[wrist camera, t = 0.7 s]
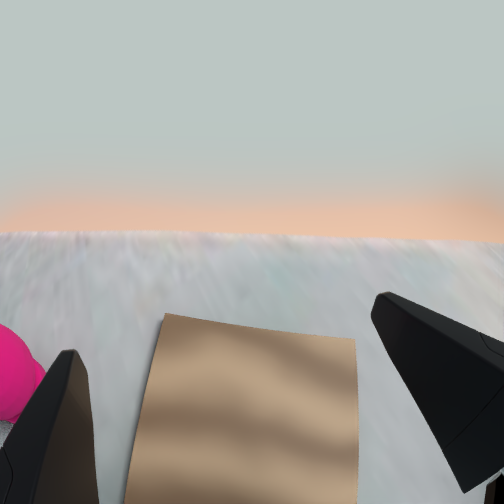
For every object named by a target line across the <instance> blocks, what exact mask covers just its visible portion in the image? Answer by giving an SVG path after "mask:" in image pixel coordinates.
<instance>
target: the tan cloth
mask: <svg viewBox="0 0 504 504" xmlns="http://www.w3.org/2000/svg"><path fill="white" fill-rule="evenodd" d="M358 458H359V415H358V382H357V363H356V347H355V339H347V338H336V337H326V336H317V335H307V334H299V333H290V332H282V331H275V330H267V329H260V328H253V327H246V326H239V325H233V324H226V323H220V322H214V321H208V320H202V319H196V318H191V317H185V316H180V315H174V314H169V313H165V315H164V319H163V323H162V326H161V330H160V334H159V338H158V341H157V345H156V349H155V353H154V357H153V361H152V365H151V369H150V373H149V378H148V382H147V386H146V390H145V395H144V399H143V404H142V408H141V413H140V418H139V422H138V427H137V432H136V437H135V442H134V447H133V452H132V458H131V463H130V469H129V474H128V480H127V486H126V492H125V499H124V504H357V488H358Z"/></svg>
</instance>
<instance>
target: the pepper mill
mask: <svg viewBox="0 0 504 504" xmlns="http://www.w3.org/2000/svg"><path fill="white" fill-rule="evenodd" d="M45 374H46V372H45V370H44V369H43V367H42V366H41V365H40V364H39V363H38V362H37V361H36V360H35V359H33V358H32V355H31V353H30V351H29V349H28V347H27V346H26V344H25V343H24V341H23V340H22V339H21V338H20V337H19V336H18V335H16V334H15V333H14V332H13V331H12V330H10V329H9V328H7V327H5V326H3V325H1V324H0V420H6V421H8V422H11V423H13V424H15V422H16V421H17V419H18V417H19V416H20V414H21V412H22V411H23V409H24V407H25V406H26V404H27V402H28V401H29V399H30V398H31V396H32V394H33V393H34V391H35V390H36V388H37V387H38V385H39V384H40V382H41V380H42V379H43V377H44V376H45Z"/></svg>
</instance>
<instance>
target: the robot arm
mask: <svg viewBox="0 0 504 504" xmlns="http://www.w3.org/2000/svg"><path fill="white" fill-rule="evenodd" d="M371 319H372V322H373V324H374V326H375V328H376V330H377V332H378V334H379V336H380V338H381V340H382V343H383V345H384V347H385V349H386V351H387V353H388V355H389V357H390V359H391V360H392V362H393V364H394V366H395V367H396V369H397V371H398V372H399V374H400V376H401V377H402V379H403V381H404V383H405V384H406V386H407V388H408V390H409V391H410V393H411V395H412V397H413V398H414V400H415V402H416V404H417V405H418V407H419V409H420V411H421V413H422V414H423V416H424V418H425V420H426V422H427V424H428V425H429V427H430V429H431V431H432V433H433V435H434V436H435V438H436V440H437V442H438V444H439V446H440V448H441V450H442V452H443V454H444V456H445V458H446V460H447V462H448V464H449V466H450V468H451V470H452V472H453V474H454V476H455V478H456V480H457V482H458V484H459V486H460V488H461V490H462V492H463V493H464V494H465V493H466V492H468V491H470V490H471V489H473V488H474V487H476V486H478V485H479V484H481V483H482V482H484V481H485V480H487V479H488V478H490V477H491V476H492V475H494V474H495V473H497V472H498V471H499V470H500V472H499V473H498V474H497V475H496V476H495V477H494V478H493V479H492V480H491V481H490V482H489V483H488V484H487V486H486V494H485V501H484V504H504V342H501V341H499V340H497V339H494V338H492V337H490V336H487V335H485V334H483V333H481V332H478V331H477V330H474V329H472V328H470V327H468V326H466V325H463V324H461V323H459V322H457V321H454V320H452V319H450V318H448V317H446V316H443V315H441V314H439V313H437V312H434V311H432V310H430V309H428V308H425V307H423V306H421V305H419V304H416V303H414V302H412V301H410V300H407V299H405V298H403V297H401V296H398V295H396V294H394V293H391V292H384V293H380V294H378V295H377V296H376V299H375V302H374V305H373V308H372V311H371ZM0 504H99V497H98V489H97V479H96V467H95V453H94V431H93V419H92V411H91V403H90V394H89V383H88V374H87V370H86V368H85V366H84V364H83V362H82V360H81V358H80V356H79V354H78V352H77V351H76V350H75V349H70V350H63V351H61V352H60V354H59V355H58V357H57V358H56V360H55V361H54V362H53V364H52V365H51V367H50V368H49V370H48V371H47V373H46V374H45V376H44V377H43V379H42V380H41V382H40V384H39V385H38V387H37V388H36V390H35V391H34V393H33V394H32V396H31V398H30V399H29V401H28V402H27V404H26V406H25V407H24V409H23V411H22V412H21V414H20V416H19V417H18V419H17V421H16V422H15V424H14V426H13V428H12V429H11V431H10V433H9V434H8V436H7V438H6V440H5V442H4V443H3V447H1V449H0Z"/></svg>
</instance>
